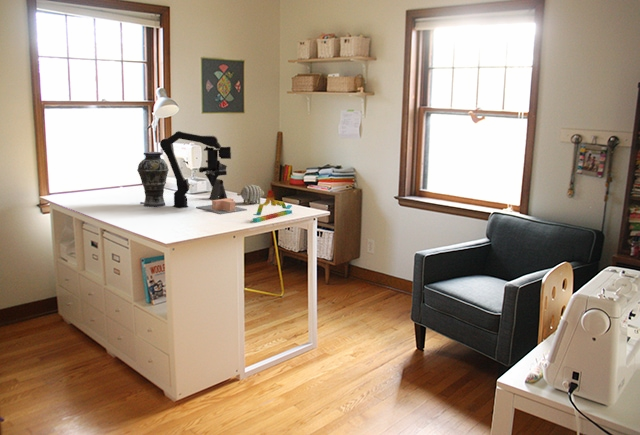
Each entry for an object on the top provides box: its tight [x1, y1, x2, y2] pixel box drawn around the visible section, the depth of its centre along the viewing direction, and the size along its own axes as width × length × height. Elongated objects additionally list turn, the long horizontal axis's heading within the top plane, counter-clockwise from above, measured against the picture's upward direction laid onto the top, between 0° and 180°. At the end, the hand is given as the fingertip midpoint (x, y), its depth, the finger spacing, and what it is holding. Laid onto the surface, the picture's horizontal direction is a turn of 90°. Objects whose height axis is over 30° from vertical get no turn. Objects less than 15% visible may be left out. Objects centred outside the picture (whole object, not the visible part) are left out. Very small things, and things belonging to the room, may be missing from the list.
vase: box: [137, 151, 169, 208], centre depth 339 cm, size 17×17×30 cm
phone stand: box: [209, 178, 228, 201], centre depth 366 cm, size 9×6×12 cm, turn 137°
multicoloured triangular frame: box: [252, 190, 293, 223], centre depth 316 cm, size 30×3×15 cm, turn 147°
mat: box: [196, 204, 248, 215], centre depth 336 cm, size 18×23×1 cm
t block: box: [211, 197, 236, 211], centre depth 332 cm, size 12×10×5 cm
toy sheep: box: [236, 184, 265, 205], centre depth 354 cm, size 11×17×11 cm, turn 123°
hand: (212, 186), depth 339 cm, fingers closed
